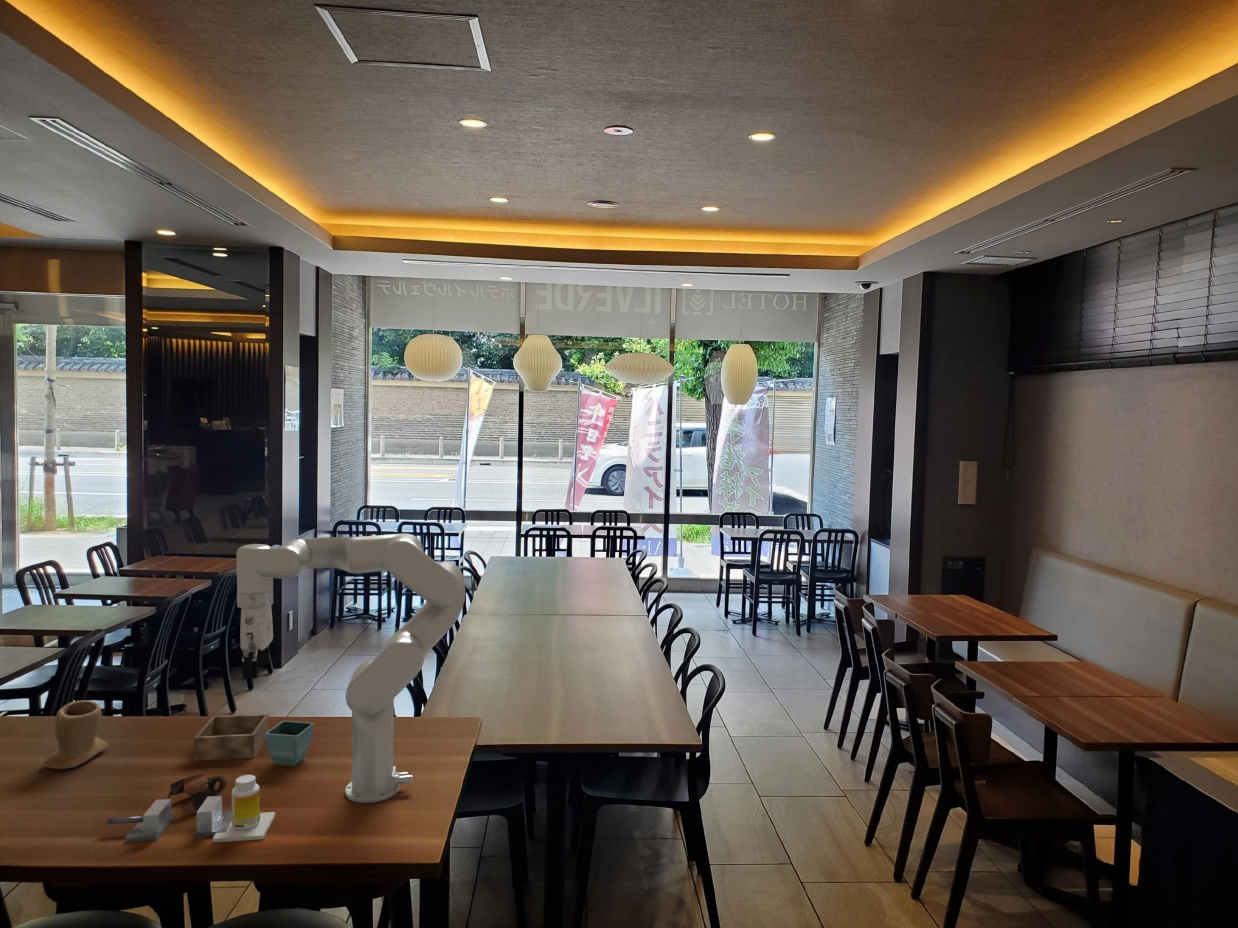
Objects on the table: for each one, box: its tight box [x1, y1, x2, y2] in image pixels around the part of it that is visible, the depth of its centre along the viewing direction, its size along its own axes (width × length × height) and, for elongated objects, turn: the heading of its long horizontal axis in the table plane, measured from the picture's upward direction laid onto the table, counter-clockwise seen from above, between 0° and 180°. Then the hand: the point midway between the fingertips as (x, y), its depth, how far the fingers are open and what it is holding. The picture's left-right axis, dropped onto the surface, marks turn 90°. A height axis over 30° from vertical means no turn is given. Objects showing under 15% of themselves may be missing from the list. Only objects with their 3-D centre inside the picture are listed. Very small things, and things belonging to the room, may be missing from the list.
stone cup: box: [42, 699, 109, 770], centre depth 206 cm, size 15×12×15 cm
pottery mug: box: [167, 771, 228, 816], centre depth 185 cm, size 12×10×8 cm
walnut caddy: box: [193, 713, 270, 762], centre depth 215 cm, size 15×15×6 cm
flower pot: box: [265, 720, 315, 767], centre depth 207 cm, size 9×9×9 cm
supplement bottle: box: [230, 774, 261, 830], centre depth 174 cm, size 6×6×10 cm
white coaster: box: [212, 811, 276, 843], centre depth 175 cm, size 10×10×1 cm
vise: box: [106, 795, 232, 843], centre depth 174 cm, size 25×9×5 cm, turn 100°
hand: (256, 671), depth 186 cm, fingers open, 9 cm apart
